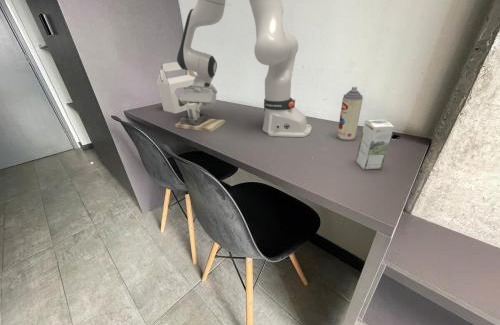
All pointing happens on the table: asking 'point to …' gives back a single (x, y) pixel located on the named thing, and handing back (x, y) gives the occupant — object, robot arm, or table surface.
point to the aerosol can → (349, 115)
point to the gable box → (173, 87)
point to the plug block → (193, 111)
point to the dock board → (200, 123)
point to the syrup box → (374, 144)
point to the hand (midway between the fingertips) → (192, 111)
